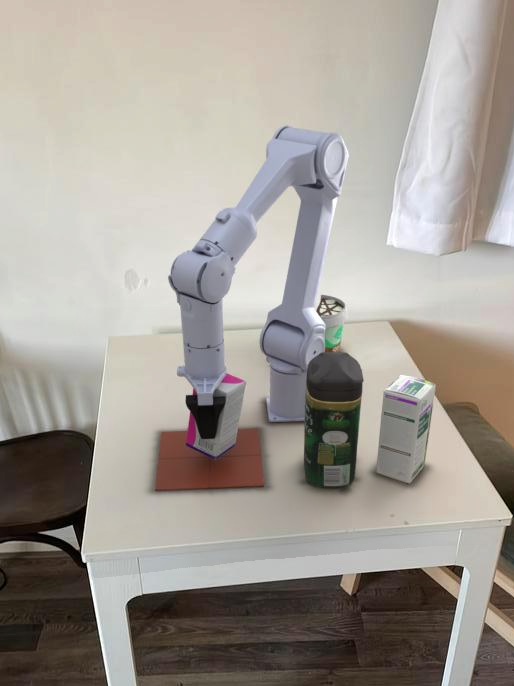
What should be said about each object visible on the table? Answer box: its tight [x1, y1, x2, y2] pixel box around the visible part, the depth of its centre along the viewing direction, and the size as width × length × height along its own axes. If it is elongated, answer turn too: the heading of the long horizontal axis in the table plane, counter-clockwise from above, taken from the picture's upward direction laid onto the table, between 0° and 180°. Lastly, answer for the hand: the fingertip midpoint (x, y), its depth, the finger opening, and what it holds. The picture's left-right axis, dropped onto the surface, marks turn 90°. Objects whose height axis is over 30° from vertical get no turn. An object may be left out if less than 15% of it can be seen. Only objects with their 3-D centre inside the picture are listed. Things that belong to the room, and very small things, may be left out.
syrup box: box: [375, 374, 436, 485], centre depth 102 cm, size 6×6×14 cm
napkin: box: [155, 428, 265, 492], centre depth 108 cm, size 16×16×1 cm
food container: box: [315, 294, 349, 352], centre depth 136 cm, size 12×6×10 cm, turn 168°
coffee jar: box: [303, 351, 364, 489], centre depth 100 cm, size 10×8×19 cm
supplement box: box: [186, 372, 247, 460], centre depth 104 cm, size 6×6×12 cm
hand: (208, 423), depth 105 cm, fingers closed on supplement box, 7 cm apart
